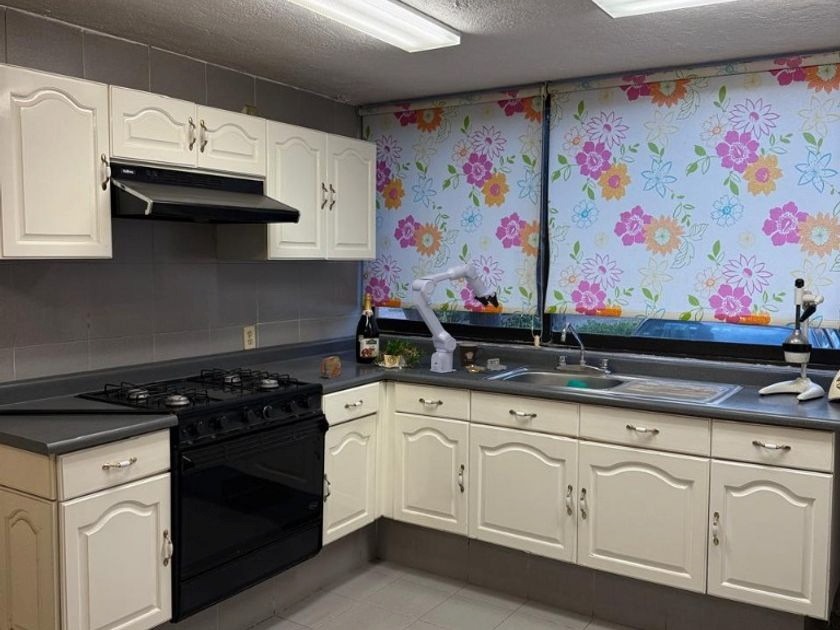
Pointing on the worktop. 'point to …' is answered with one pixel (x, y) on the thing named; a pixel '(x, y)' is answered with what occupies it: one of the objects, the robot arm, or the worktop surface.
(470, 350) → the coffee mug
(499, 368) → the stand
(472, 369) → the cam
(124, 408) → the worktop surface
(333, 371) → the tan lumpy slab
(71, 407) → the worktop surface
